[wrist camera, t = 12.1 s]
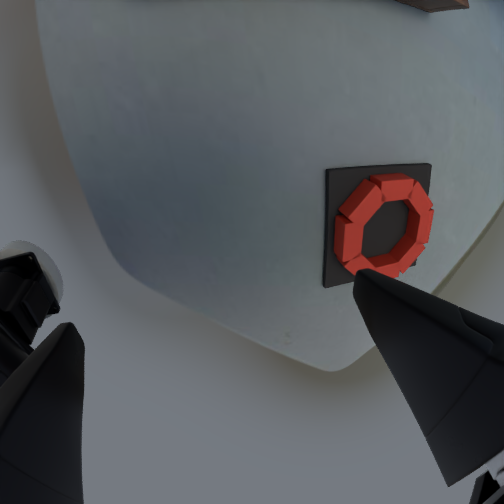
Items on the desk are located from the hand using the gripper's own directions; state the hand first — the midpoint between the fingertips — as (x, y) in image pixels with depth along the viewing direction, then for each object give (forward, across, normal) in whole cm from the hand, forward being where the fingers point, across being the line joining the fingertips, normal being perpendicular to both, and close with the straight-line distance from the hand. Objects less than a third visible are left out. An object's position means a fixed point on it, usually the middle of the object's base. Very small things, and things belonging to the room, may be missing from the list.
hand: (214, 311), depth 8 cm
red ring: (+11, -14, +5) cm, 18 cm away
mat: (+12, -14, +5) cm, 19 cm away
